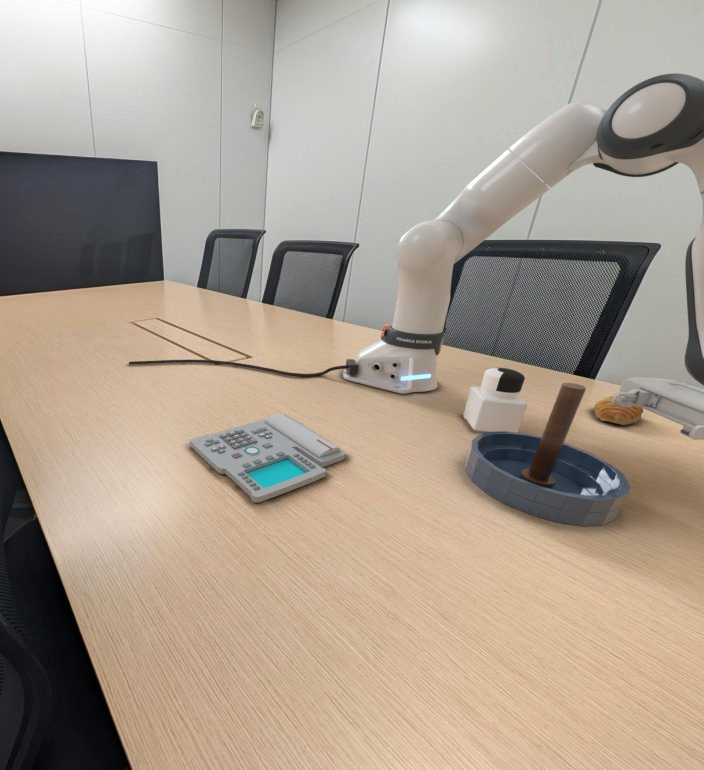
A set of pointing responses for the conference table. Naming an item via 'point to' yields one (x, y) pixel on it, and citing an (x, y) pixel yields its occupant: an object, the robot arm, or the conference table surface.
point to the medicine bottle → (496, 402)
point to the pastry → (617, 412)
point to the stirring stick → (554, 436)
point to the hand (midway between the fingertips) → (649, 413)
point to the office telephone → (268, 455)
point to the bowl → (571, 472)
